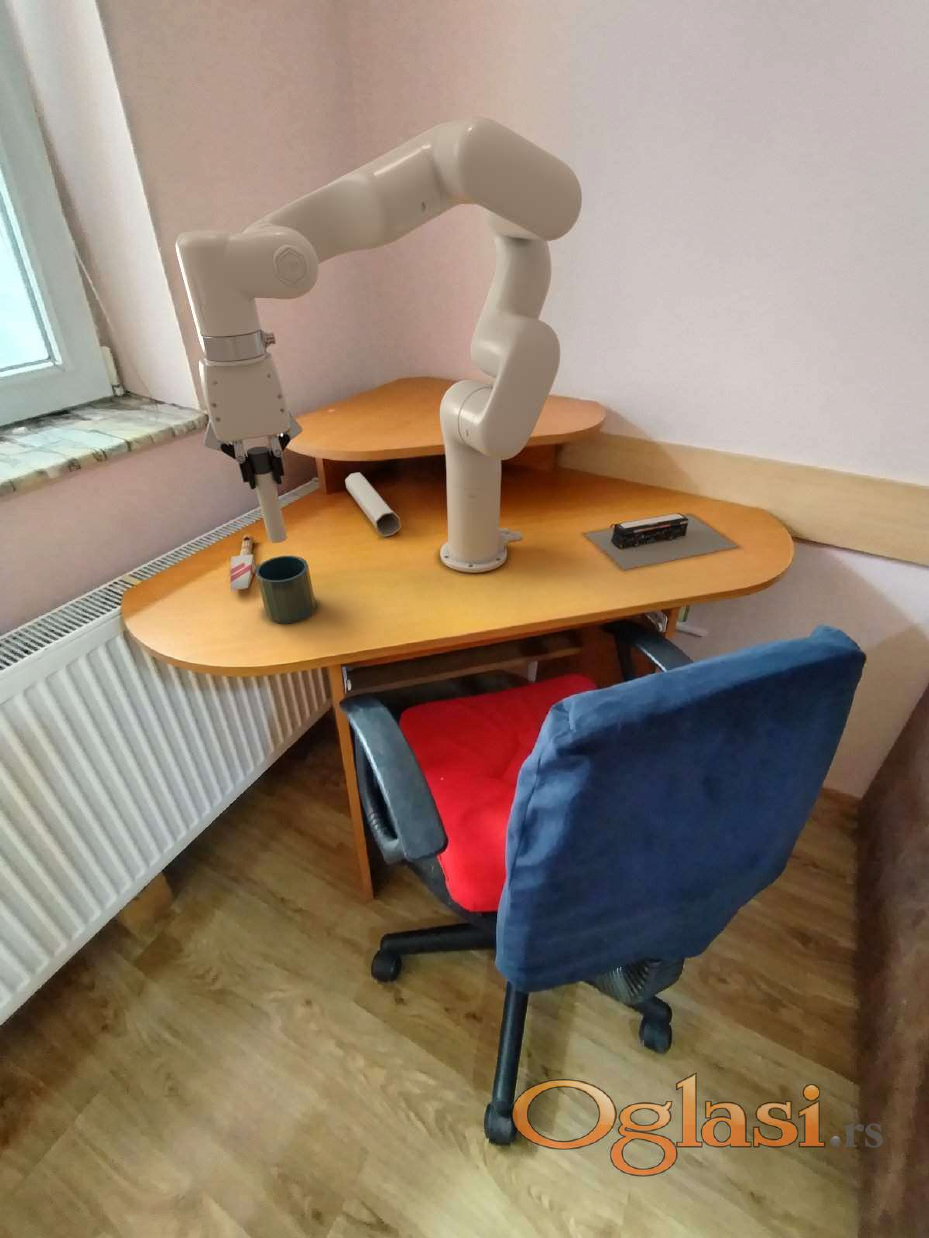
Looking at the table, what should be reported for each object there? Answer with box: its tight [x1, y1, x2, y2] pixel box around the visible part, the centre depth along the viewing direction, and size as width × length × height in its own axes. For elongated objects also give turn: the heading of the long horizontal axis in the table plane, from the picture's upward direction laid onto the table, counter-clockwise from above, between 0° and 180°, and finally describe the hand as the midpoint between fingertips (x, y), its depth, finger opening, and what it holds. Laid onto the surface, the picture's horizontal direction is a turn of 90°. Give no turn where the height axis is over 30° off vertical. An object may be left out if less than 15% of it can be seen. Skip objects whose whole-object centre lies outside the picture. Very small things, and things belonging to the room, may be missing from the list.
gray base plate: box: [585, 512, 738, 570], centre depth 116 cm, size 14×25×4 cm, turn 109°
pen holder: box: [254, 555, 316, 625], centre depth 97 cm, size 8×8×8 cm
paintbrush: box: [230, 534, 257, 591], centre depth 109 cm, size 4×3×20 cm
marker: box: [246, 446, 288, 544], centre depth 87 cm, size 3×3×14 cm
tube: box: [344, 471, 402, 538], centre depth 127 cm, size 5×5×25 cm
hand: (264, 482), depth 86 cm, fingers closed on marker, 3 cm apart
